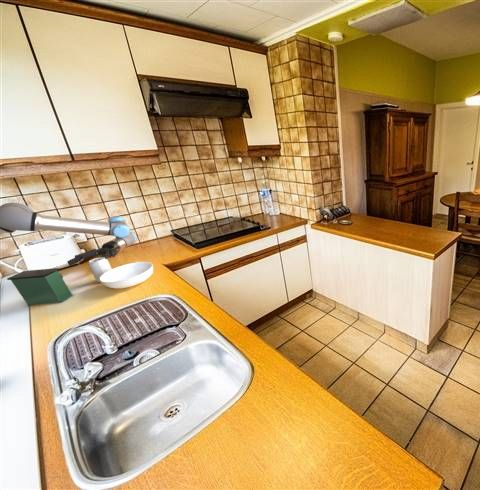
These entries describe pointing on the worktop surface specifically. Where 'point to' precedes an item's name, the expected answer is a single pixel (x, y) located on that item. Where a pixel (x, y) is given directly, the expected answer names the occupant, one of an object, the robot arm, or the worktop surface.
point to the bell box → (41, 286)
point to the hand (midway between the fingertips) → (82, 262)
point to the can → (99, 267)
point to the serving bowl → (127, 275)
